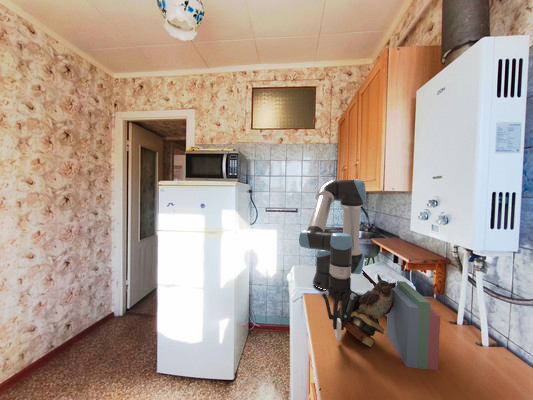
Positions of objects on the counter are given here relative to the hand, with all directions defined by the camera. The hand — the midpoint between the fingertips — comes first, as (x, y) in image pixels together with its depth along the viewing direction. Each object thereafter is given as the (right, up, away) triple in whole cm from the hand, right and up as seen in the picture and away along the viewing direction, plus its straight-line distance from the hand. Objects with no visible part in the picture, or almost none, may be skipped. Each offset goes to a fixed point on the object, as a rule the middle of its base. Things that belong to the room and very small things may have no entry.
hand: (337, 337), depth 79 cm
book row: (+24, -3, -4) cm, 25 cm away
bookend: (+6, 0, +1) cm, 7 cm away
